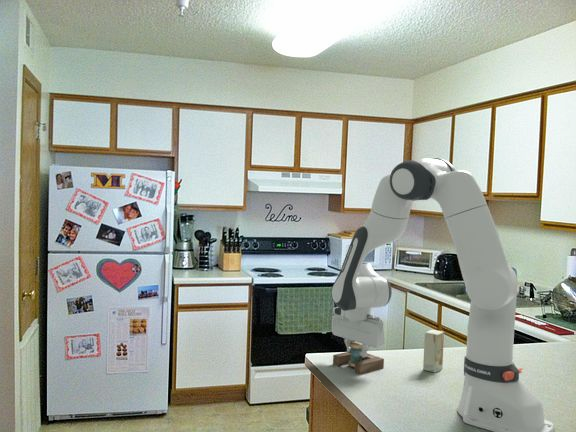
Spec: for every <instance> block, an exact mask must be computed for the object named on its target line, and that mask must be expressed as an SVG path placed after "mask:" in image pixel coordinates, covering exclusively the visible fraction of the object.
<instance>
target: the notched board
mask: <svg viewBox="0 0 576 432" xmlns="http://www.w3.org/2000/svg"><path fill="white" fill-rule="evenodd" d="M350 357H351V353H348V352H347V351H346V352H340V353H336V354H333V356H332V364H333V366H334V365H335V366H336V367H341V366H344V365H348V362H349V361H350ZM384 365H385V358H383V357H380V356H376V355H373V354H370V353H368V352H367V356H366V357H364V358H363V357H362V361H359V362H355V368H354V371H353V372H354V373H356V374H359V375H363V374H367V373H371V372H375V371H378V370H382V369H384Z"/></svg>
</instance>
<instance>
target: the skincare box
mask: <svg viewBox="0 0 576 432" xmlns="http://www.w3.org/2000/svg"><path fill="white" fill-rule="evenodd" d="M444 337H445V332H444V331H442V330H436V329H430V330H427V331H425V332H424V343H423V344H424V345H423V346H424V347H423V361H422V364H423V365H422V371H428V372H430V373H437V372H439V371H440V370H442V369H443V364H444V363H443V362H444V341H445V340H444Z"/></svg>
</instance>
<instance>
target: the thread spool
mask: <svg viewBox="0 0 576 432" xmlns="http://www.w3.org/2000/svg"><path fill="white" fill-rule="evenodd" d="M349 347H350V348H351V357H350V361H349V362H348V364H347V365H348V367H350V368H354V369H355V362H359V361H362V357H360V356H359V355H360V351H362V350H363V348H364V347H362V343H359V342H355V341H351V342H350V343H349Z"/></svg>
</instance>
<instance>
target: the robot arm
mask: <svg viewBox="0 0 576 432" xmlns="http://www.w3.org/2000/svg"><path fill="white" fill-rule="evenodd" d="M481 189H482V188H480V186H479V184H478V182H477V181H476V179H475V177H474V176H473V175H472V173H471V172H469V171H466V170H462V169H458V170H457V169H455V167H454V166H453V164H451V163H450V162H449V161H448V160H446V159H442V158H438V157H437V158H425V157H422V158H421V157H420V158H416V159H412V160H411V159H409V160H405V161H403V162H400V163H398V164H396V165H395V166H394V168H392V171H391V172H390V174H387V175H385V176H383V177H382V178H381V179H380V181H379V184H378V185H377V189H376V191H375V194H374V196H373V200H372V202H371V203H372V204H371V208H370V212H369V214H368V217H367V219H366V220H365V222H364V223H363V225H362V226H360V227H358V228H357V230H356V231H355V232H354V234H353V236H352V239H351V242H350V244H349V246H348V249H347V251H346V254H345V258H344V259H343V263H342V265H341V268H340V270H339V273H338V276H337V277H336V279H335V280H334V282H333V284H332V287H331V300H332V301H333V303H334V304H335V307H333V308H332V314H333V316H332V318H331V332H332V335H334V336H335V337H336V336H337V337H340V338H343V339H344V344H345V346H346V352H348V353H351V348H350V347H349V343H350V342H359V343H362V347H364V348H363V350H362V351H360V355H359V356H360V357H363V358H364V357H366V356H367V353H368V351H369V349H370V347H372V348H381V347H383V346H384V345H385V342H386V339H385V329H384V322H383V320H382V319H381V318H380V317H379V316H374V315H373V308H382V307H387V305H388V304H389V303H390V300H391V298H392V292H393V291H392V290H393V289H392V286H391V283H390V282H389V280H388V279H387V278H385V277H384V276H383V277H382V276H381V275H380V274H378V272H376V271H375V270H374V267H373V265H372V264H371V263H370V262H365V261H364V260H365V258H366V257H367V256H368V254H369V253H371V252H373V250H376V249H377V248H381V247H382V246H385V245H388V244H391V243H394V242H395V241H397V240H398V239H400V238H401V237H402V236H403V235H404V233H405V231H406V229H407V226H408V222H409V218H410V213H411V209H412V205H413V203H414V201H428V200H429V199H432V200H435V201H436V202H437V203H438V205H439V206H440V208H441V211H442V212H441V213H442V214H443V218H444V220H445V223H446V225H447V228H448V232H449V234H450V237H451V240H452V243H453V244H454V245H453V246H454V248H455V252H456V256H457V259H458V260H457V261H458V265H459V268H460V269H459V270H460V271H461V276H462V279H463V282H464V285H465V290H466V293H467V296H468V298H469V300H470V307H469V315H468V322H467V330H466V331H467V333H466V335H467V336H466V354H465V356H464V361H463V375H464V379H463V385H462V386H463V387H462V391H461V395H460V399H459V404H458V405H457V408H456V411H457V413H458V414H459V416H461V418H462V422H463V423H465V424H468V425H470V426H474V427H477V428H480V429H484V430H488V431H491V432H554V429H555V426H554V423H553V422H551V421H549V420H547V419H545V415H544V414H545V413H544V407H543V404H542V401H541V399H540V398H539V397H537V396H536V395H535V394H534V393H533V391H531V390H530V389H529V388H528V387H527V386H526V385H525V384H524V383H523V382H522V381H521V379H520V374H521V373H523V367H521V368H517V366H516V364H515V363H514V361H513V360H514V341H515V340H514V338H515V326H516V323H515V322H516V312H517V311H516V310H517V296H518V276H517V274H516V272H515V270H514V268H512V266H510V265H509V264H508V261H507V259H506V256H505V252H504V250H503V249H504V248H503V246H502V243H501V242H502V241H501V239H500V236H499V232H498V229H497V227H496V223H495V221H494V219H493V216H492V214H491V211H490V207H489V205H488V203H487V201H486V198H485V196H484V193H483V192H482V190H481Z"/></svg>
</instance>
